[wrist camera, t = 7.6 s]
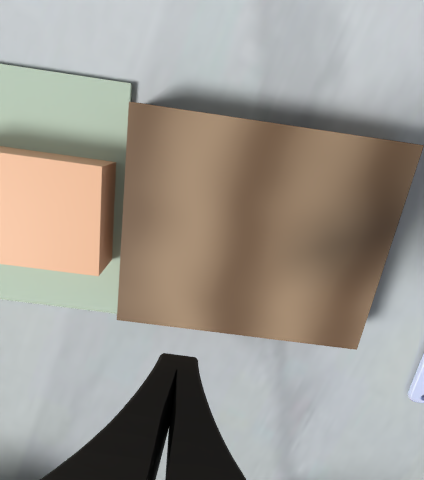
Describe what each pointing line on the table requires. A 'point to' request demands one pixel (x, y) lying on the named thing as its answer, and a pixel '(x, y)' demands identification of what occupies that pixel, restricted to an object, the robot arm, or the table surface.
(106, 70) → the table surface
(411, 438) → the table surface
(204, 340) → the table surface
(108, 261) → the block
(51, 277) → the mat
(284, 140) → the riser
